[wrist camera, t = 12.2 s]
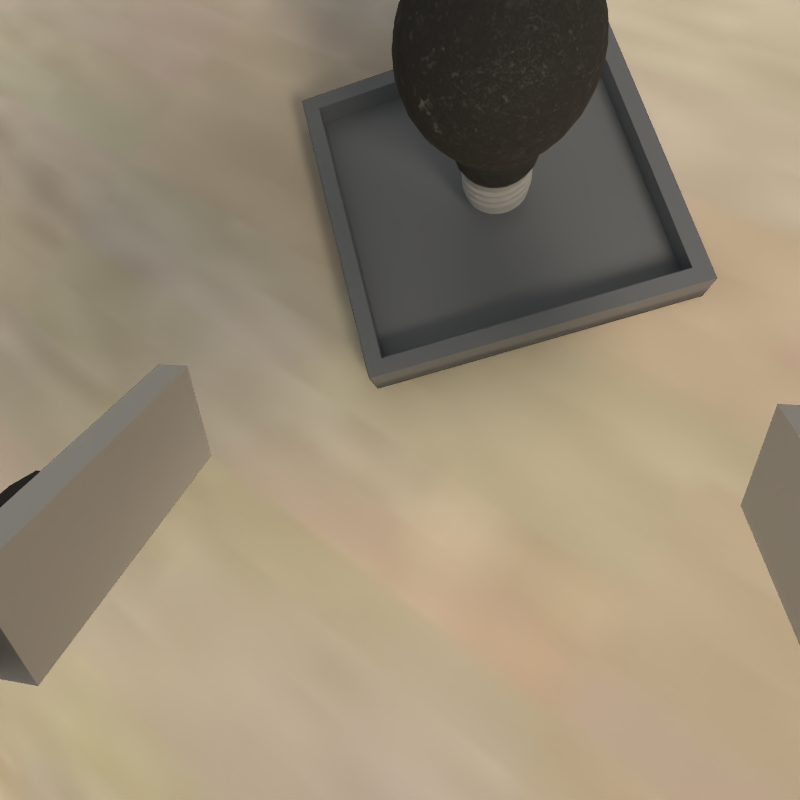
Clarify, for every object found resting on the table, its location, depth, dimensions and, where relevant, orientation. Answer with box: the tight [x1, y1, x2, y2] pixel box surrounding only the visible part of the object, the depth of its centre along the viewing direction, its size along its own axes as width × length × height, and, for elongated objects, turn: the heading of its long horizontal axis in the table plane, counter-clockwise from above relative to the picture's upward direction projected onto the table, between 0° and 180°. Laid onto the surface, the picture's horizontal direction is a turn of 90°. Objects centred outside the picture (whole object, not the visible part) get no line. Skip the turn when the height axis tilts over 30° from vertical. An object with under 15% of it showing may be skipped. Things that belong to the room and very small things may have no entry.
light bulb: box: [392, 0, 609, 214], centre depth 18 cm, size 6×6×10 cm
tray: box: [302, 24, 717, 388], centre depth 22 cm, size 12×12×2 cm
